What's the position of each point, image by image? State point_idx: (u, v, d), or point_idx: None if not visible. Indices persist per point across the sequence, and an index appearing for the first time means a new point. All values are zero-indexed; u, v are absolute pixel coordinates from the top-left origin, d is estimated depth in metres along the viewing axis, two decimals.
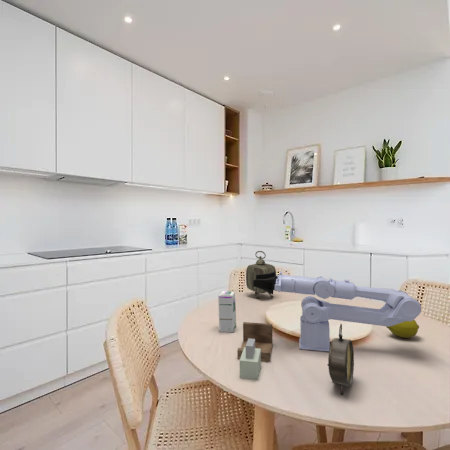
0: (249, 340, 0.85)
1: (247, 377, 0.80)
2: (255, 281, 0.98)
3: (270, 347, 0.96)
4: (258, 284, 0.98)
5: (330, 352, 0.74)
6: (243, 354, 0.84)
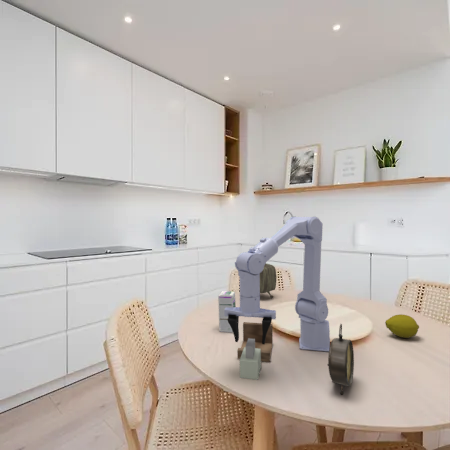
0: (249, 340, 0.85)
1: (247, 377, 0.80)
2: (264, 341, 0.82)
3: (270, 347, 0.96)
4: None
5: (330, 352, 0.74)
6: (243, 354, 0.84)
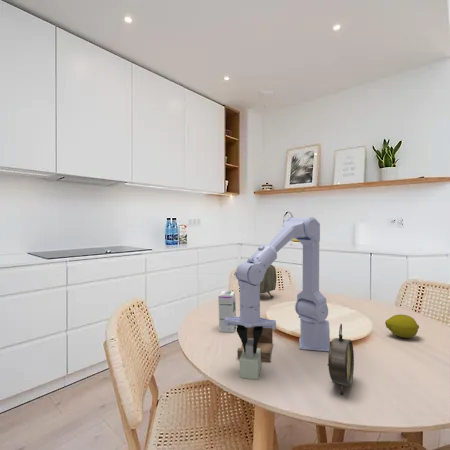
0: (249, 340, 0.85)
1: (247, 377, 0.80)
2: (256, 350, 0.83)
3: (270, 347, 0.96)
4: None
5: (330, 352, 0.74)
6: (243, 354, 0.84)
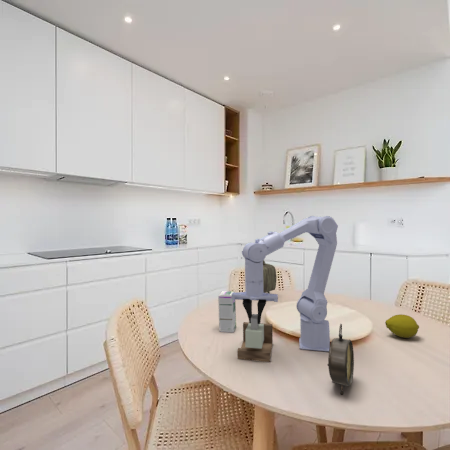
0: (253, 315, 0.94)
1: (252, 346, 0.89)
2: (260, 321, 0.92)
3: (270, 347, 0.96)
4: None
5: (330, 352, 0.74)
6: (248, 327, 0.93)
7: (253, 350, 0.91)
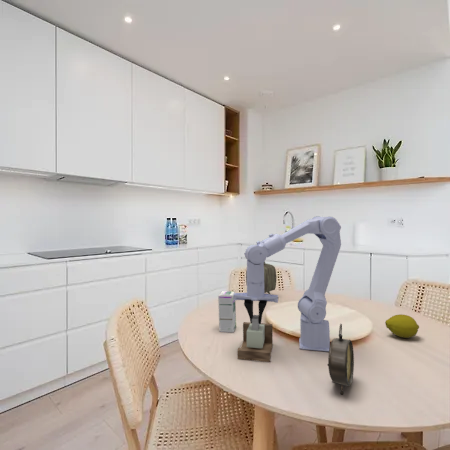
0: (254, 316, 0.97)
1: (253, 346, 0.92)
2: (260, 321, 0.95)
3: (270, 347, 0.96)
4: None
5: (330, 352, 0.74)
6: (249, 327, 0.96)
7: (253, 350, 0.91)
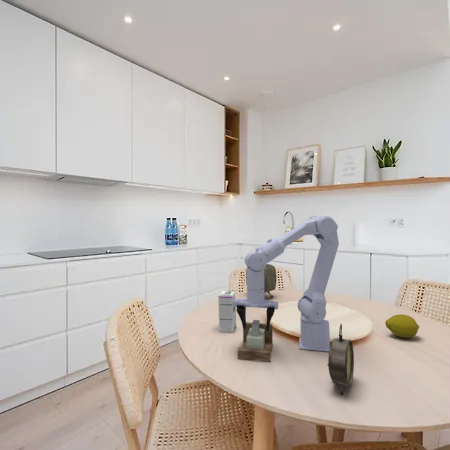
0: (254, 321, 0.97)
1: None
2: (268, 328, 0.95)
3: (270, 347, 0.96)
4: None
5: (330, 352, 0.74)
6: (249, 333, 0.96)
7: (253, 350, 0.91)
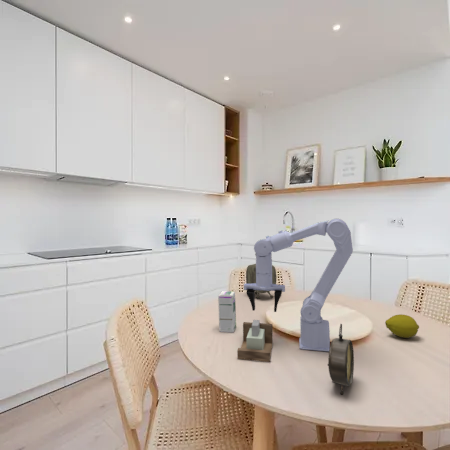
0: (254, 321, 0.97)
1: None
2: (276, 309, 1.03)
3: (270, 347, 0.96)
4: None
5: (330, 352, 0.74)
6: (249, 333, 0.96)
7: (253, 350, 0.91)
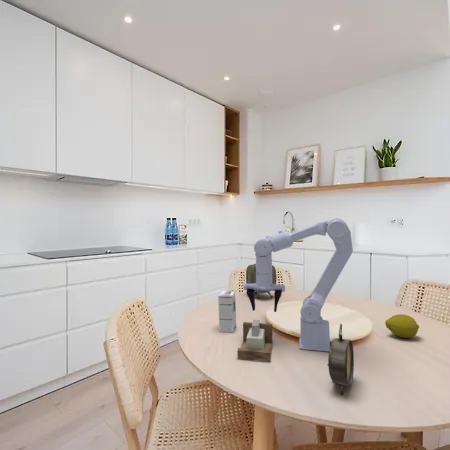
0: (254, 321, 0.97)
1: None
2: (276, 309, 1.03)
3: (270, 347, 0.96)
4: None
5: (330, 352, 0.74)
6: (249, 333, 0.96)
7: (253, 350, 0.91)
